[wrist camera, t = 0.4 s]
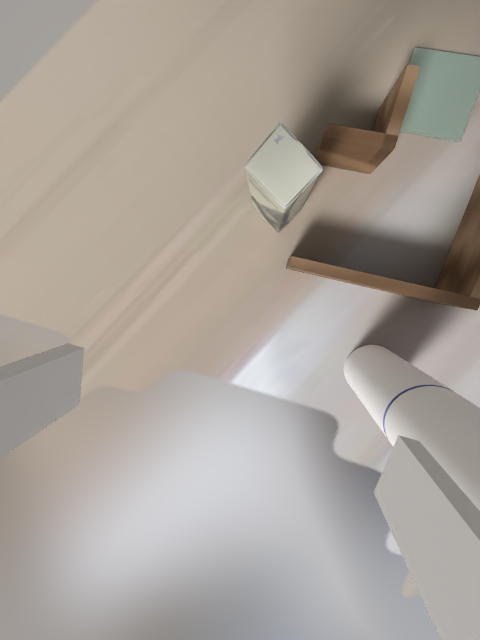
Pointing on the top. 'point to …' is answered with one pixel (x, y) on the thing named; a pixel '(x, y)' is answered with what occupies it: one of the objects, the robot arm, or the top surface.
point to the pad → (442, 94)
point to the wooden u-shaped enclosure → (364, 156)
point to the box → (281, 177)
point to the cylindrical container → (419, 412)
